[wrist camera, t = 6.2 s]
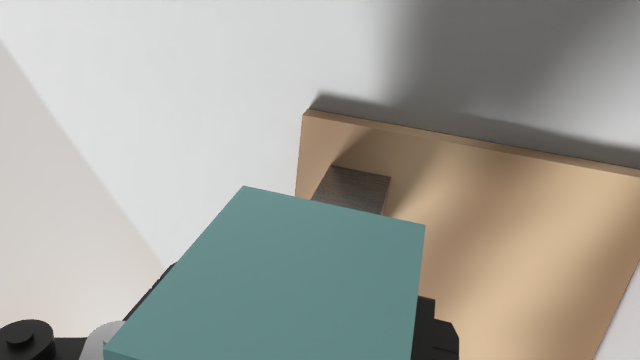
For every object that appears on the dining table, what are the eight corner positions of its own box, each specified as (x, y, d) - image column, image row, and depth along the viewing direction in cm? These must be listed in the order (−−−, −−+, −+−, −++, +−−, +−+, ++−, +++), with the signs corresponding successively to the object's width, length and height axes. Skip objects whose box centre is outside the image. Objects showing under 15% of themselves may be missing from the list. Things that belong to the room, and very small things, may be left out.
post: (391, 176, 20) (362, 275, 14) (381, 229, 21) (351, 341, 15) (330, 164, 20) (278, 255, 14) (323, 217, 21) (272, 321, 15)
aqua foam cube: (426, 225, 14) (401, 434, 8) (392, 365, 16) (355, 606, 10) (243, 185, 15) (102, 348, 9) (236, 324, 17) (122, 525, 11)
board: (666, 174, 18) (674, 184, 17) (558, 410, 23) (561, 425, 23) (308, 108, 20) (302, 114, 20) (285, 338, 26) (280, 349, 25)
